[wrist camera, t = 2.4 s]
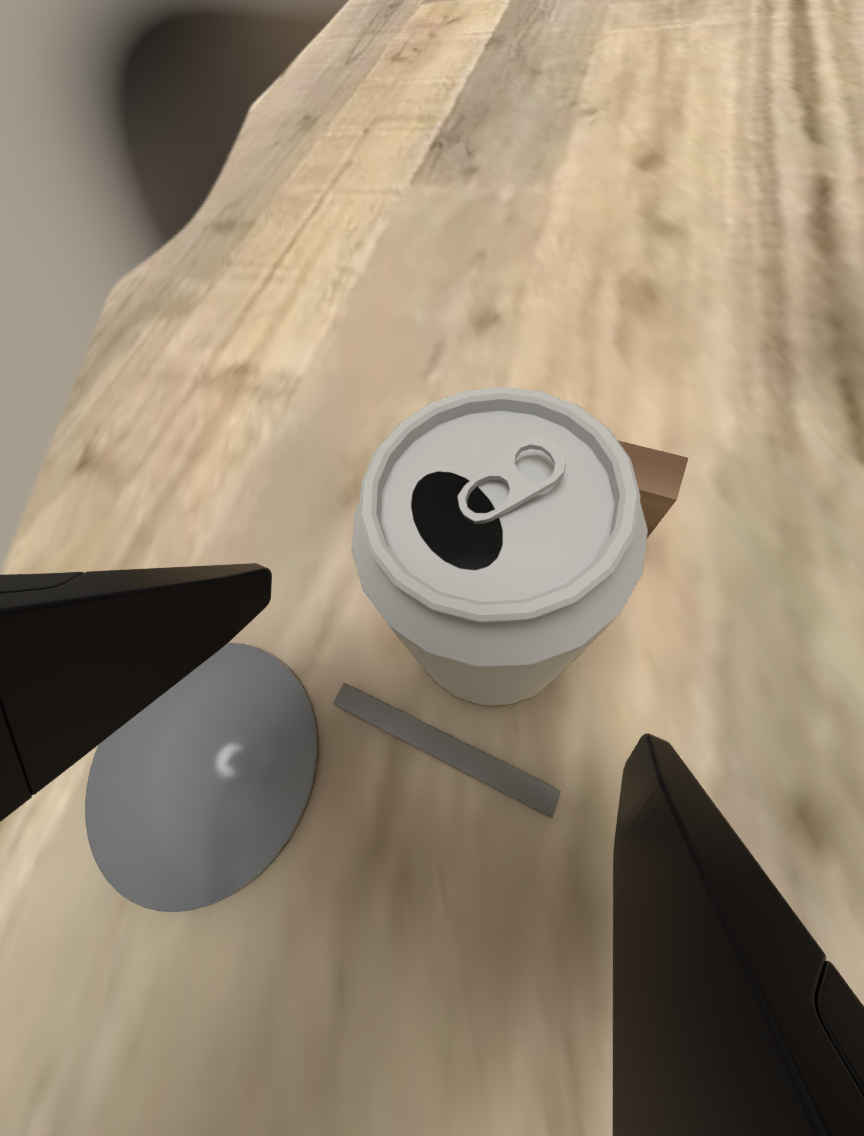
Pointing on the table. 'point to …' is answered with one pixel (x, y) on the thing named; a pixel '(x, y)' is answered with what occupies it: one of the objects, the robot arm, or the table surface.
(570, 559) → the can
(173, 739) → the coaster
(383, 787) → the table surface
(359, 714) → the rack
